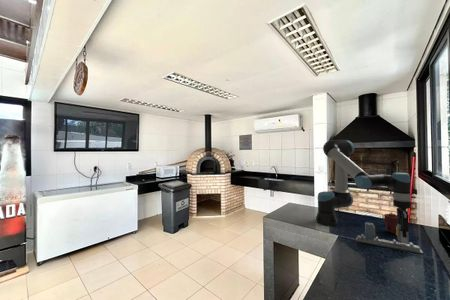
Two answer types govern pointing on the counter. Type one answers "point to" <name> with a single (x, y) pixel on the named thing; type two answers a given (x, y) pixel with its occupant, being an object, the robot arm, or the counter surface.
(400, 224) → the pale blue-grey block
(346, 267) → the counter surface
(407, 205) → the robot arm
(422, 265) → the counter surface
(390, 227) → the mechanical component
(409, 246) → the rail
